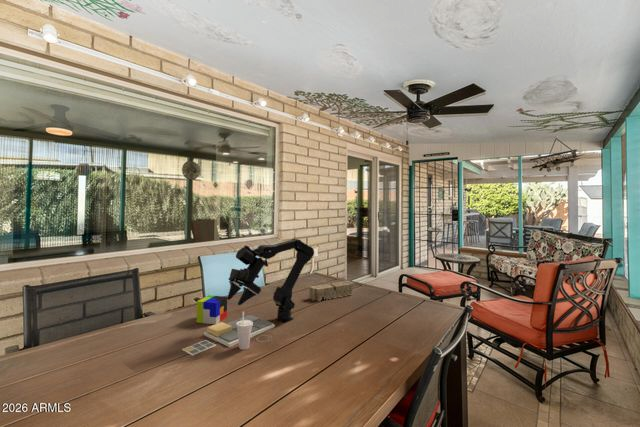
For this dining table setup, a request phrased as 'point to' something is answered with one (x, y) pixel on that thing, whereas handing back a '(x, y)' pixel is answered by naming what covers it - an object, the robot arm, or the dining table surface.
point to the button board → (232, 336)
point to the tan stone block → (330, 290)
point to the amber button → (219, 329)
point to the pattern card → (198, 347)
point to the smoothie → (244, 332)
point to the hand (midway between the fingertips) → (233, 302)
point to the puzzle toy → (211, 309)
